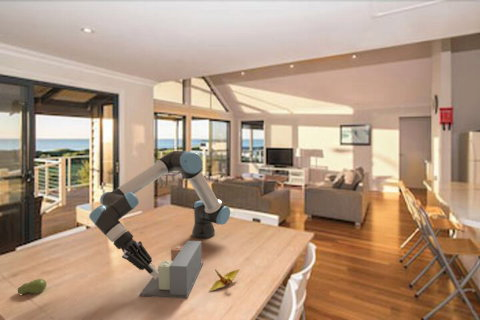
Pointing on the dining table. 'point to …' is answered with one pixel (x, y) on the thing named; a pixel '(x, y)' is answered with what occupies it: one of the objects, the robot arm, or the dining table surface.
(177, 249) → the button one
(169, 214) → the dining table surface
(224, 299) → the dining table surface
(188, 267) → the console
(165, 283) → the button two
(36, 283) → the pear
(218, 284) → the origami crane
